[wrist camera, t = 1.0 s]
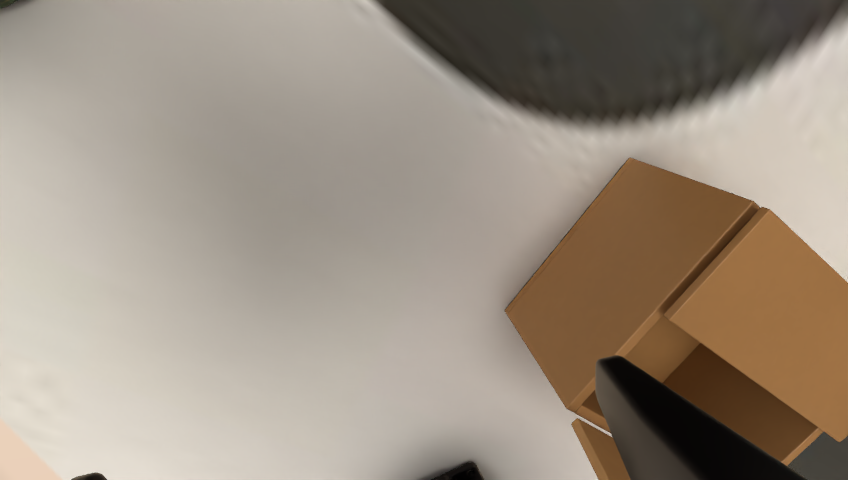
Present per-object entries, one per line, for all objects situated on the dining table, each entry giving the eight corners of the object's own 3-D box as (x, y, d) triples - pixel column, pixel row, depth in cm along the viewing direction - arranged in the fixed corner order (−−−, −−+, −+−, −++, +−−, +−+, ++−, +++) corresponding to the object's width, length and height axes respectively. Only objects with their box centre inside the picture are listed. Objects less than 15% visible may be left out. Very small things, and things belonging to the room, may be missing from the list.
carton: (646, 398, 32) (755, 521, 24) (504, 310, 28) (574, 422, 20) (764, 273, 30) (931, 359, 22) (629, 157, 26) (771, 206, 17)
